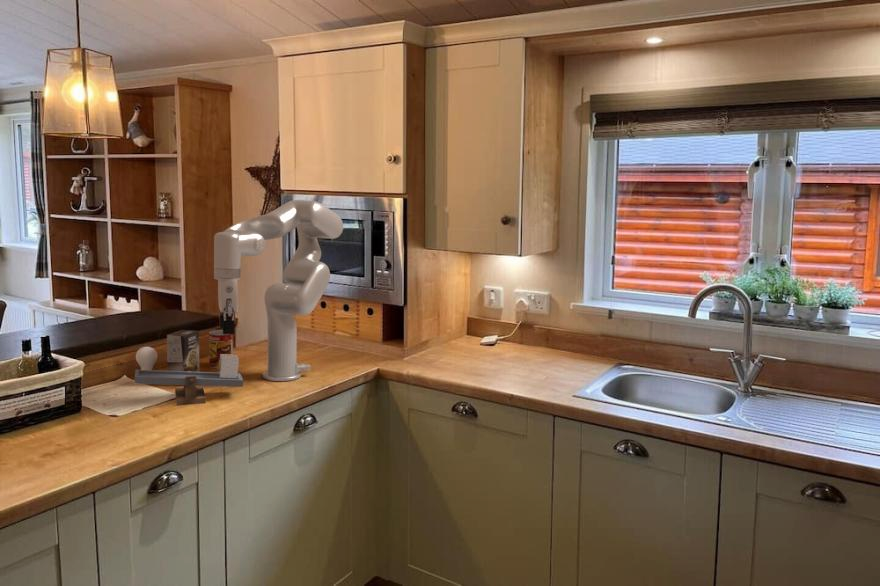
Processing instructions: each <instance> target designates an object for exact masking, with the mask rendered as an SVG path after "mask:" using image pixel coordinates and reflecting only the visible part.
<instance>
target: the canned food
mask: <svg viewBox="0 0 880 586" xmlns="http://www.w3.org/2000/svg"><path fill="white" fill-rule="evenodd" d="M233 335H234V334H223V329H215V330H214V329H213V330H211V331H209V332H208V358H209V359H208V361H209V363H208V365H209V367H210V368H212V369H219V362H220V354H231V355H234V354H233V351H234V350H233V348H234V347H233V345H234V343H233V339H234V338H233Z"/></svg>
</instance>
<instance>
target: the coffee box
mask: <svg viewBox="0 0 880 586" xmlns="http://www.w3.org/2000/svg"><path fill="white" fill-rule="evenodd" d="M166 346H167V347H166V352H167V353H166V355H167V357H166V360H167V361H166V367H167V370H166V371H184V367H194V372H200V330H190V329H187V330H186V329H181V330H178V331H174V332H171V333H169V334H166ZM182 386H183V387H184V385H182Z"/></svg>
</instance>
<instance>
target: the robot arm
mask: <svg viewBox="0 0 880 586" xmlns="http://www.w3.org/2000/svg"><path fill="white" fill-rule="evenodd" d="M295 229H296V230H297V235H298V245H297V246H298V247H297V249H296V250H295V252H294V254H293V256H291V259H290V260H289V262H288V263H287V265H286V266H285V268H284V271H283V273H282V279H283V281H284V282H285V283H282V282H277V283H273V284H271V285H269V286H268V287H267V288H266V289H265V292H264V297H263V299H264V305H265V311H266V319H267V322H266V323H267V354H266V355H267V356H266V357H267V358H266V359H267V364H266V365H267V370H265V371H264V372H262V377H263V379H265V380H267V381H271V382H272V381H273V382H287V381H288V382H290V381H294V380H297V379H299V378H300V377H302V371H304V372H305V371H311V369H312V368H311V364H306V363H300V364H299V363H298V362H297V344H298V343H297V338H298V337H297V334H298V333H297V332H298V331H297V329H298V326H297V324H298V323H297V322H296V321H297V320H296V318H295V316H294V315H299V316H307V315H309V314H311V313H312V312H313V311H314V310H315V308H316V307H317V305H318V304H319V302H320V301H321V298H322V296H323V294H324V293H325V291H326V289H327V287H328V285H329V283H330V278H331V272H330V268H329V266H328V265H327V264H326V263H324V262H323V261H320V260H321V257H322V250H321V247H320V244H319V242H318V239H328V240H329V239H330V240H334V239H337V238H339V237H340V236H341V235H342V234H343V231H344V222H343V220H342V218H341V216H339V215H338V213H336V212H334V211H333V210H331V209H330V208H329V207H327V206H325V204H323V203H320V202H318V201H315V200H306V199H305V200H304V199H293V200H290V201H287V202H285V203H284V204H283V205H280V206H279V207H277V208H275V209H274V210H272V211H270V212H269V213H266V214H263V215H262V214H261V215H258V216H256V217H251V218H248V219H245V220H242V221H238V222H237V223H235V224H232V225H231V226H229V227H228V228H226V229H225V230H223V231H221V232H220V231H219V232H217V233H215V234H214V238H213V239H214V240H213V243H214V244H213V247H214V248H213V249H214V250H213V251H214V252H213V255H214V256H213V257H214V258H213V280H217V283H218V284H217V291H218V292H217V295H218V296H217V297H218V308H219V312H220V314H219V327H220V329H222V330H223V334H233V335H234V334H235V314H237V313H238V312H239V292H238V290H239V289H238V286H239V285H238V281H239V280H241V271H242V270H241V262H242V261H241V259H242V258H241V257H242V256H245V257H256V256H259V255H261V254H262V253H263V251H264V250H265V248H266V240H267V241H269V240H275V239H276V240H277V239H280V238H282V237H284V236H285V235H286V234H288V233H290V232H291V231H293V230H295ZM234 312H235V314H234Z"/></svg>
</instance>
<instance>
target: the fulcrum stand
mask: <svg viewBox="0 0 880 586" xmlns="http://www.w3.org/2000/svg"><path fill="white" fill-rule="evenodd" d="M184 371H191V372H194V367H184ZM174 390H175V391H174V395H175V403H176V406H186V405H187V406H188V405H189V406H190V405H200V404H201V405H202V404H206V402H207V401H206V395H205V390H204V387H203V386H197V385H196V376H185V385H184V386H183V387H175V388H174Z"/></svg>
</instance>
